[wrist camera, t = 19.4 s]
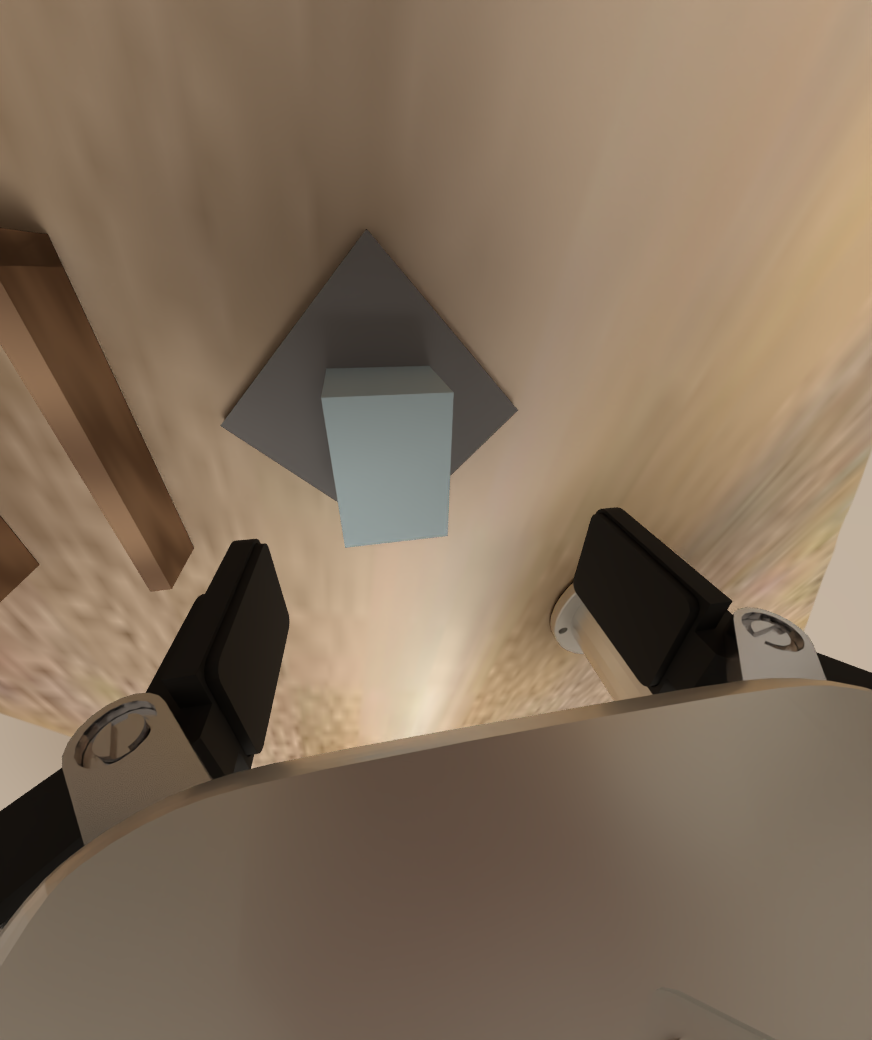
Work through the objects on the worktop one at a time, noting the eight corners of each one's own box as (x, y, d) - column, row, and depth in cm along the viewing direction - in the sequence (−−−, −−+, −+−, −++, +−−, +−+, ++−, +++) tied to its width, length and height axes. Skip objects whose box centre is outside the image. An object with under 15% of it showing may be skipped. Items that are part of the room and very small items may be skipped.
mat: (512, 406, 21) (518, 410, 20) (387, 528, 24) (388, 535, 23) (365, 230, 15) (366, 228, 15) (225, 420, 18) (220, 425, 18)
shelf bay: (193, 548, 22) (171, 589, 19) (18, 566, 20) (-34, 614, 17) (47, 234, 13) (-32, 223, 11) (-274, 223, 12) (-469, 208, 9)
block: (428, 487, 22) (447, 535, 18) (344, 495, 21) (345, 547, 17) (429, 365, 18) (453, 392, 14) (326, 368, 17) (321, 397, 13)
